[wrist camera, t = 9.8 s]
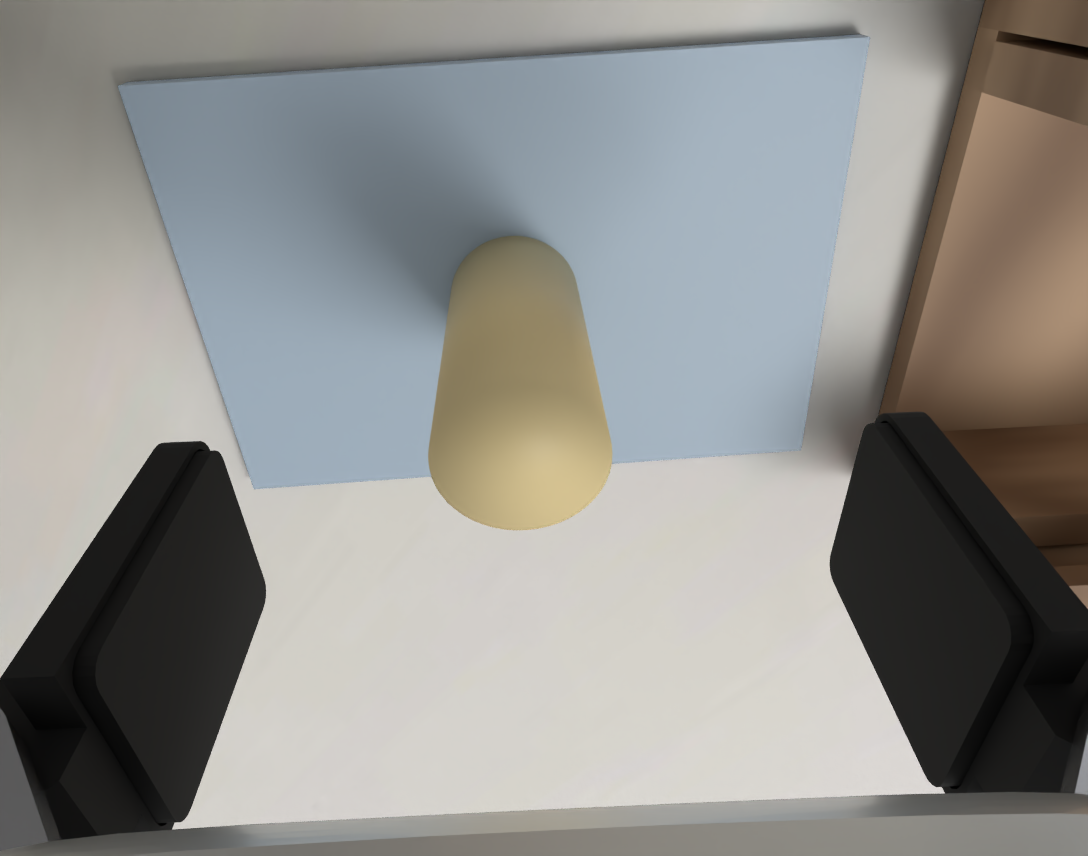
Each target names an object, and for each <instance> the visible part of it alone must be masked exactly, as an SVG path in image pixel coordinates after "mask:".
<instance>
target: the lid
mask: <svg viewBox="0 0 1088 856" xmlns="http://www.w3.org/2000/svg"><path fill="white" fill-rule="evenodd" d="M869 41H870V37H868V36H864V35H861V34H858V35H842V36H827V37H812V38H796V39H781V40H766V41H750V42H735V43H720V44H704V45H689V46H674V47H658V48H643V49H628V50H612V51H597V52H582V53H566V54H551V55H536V56H520V57H505V58H490V59H474V60H459V61H444V62H428V63H413V64H398V65H382V66H367V67H352V68H336V69H321V70H306V71H290V72H275V73H260V74H244V75H229V76H214V77H198V78H183V79H168V80H152V81H137V82H127V83H124V84H122V85H119V86H118V89H119V92H120V95H121V98H122V101H123V103H124V106H125V109H126V112H127V115H128V118H129V121H130V124H131V127H132V130H133V133H134V136H135V139H136V142H137V145H138V148H139V151H140V154H141V157H142V160H143V163H144V166H145V169H146V171H147V174H148V177H149V180H150V183H151V186H152V189H153V192H154V195H155V198H156V201H157V204H158V207H159V210H160V213H161V216H162V219H163V222H164V225H165V228H166V231H167V234H168V237H169V239H170V242H171V245H172V248H173V251H174V254H175V257H176V260H177V263H178V266H179V269H180V272H181V275H182V278H183V281H184V284H185V287H186V290H187V293H188V296H189V299H190V302H191V305H192V307H193V310H194V313H195V316H196V319H197V322H198V325H199V328H200V331H201V334H202V337H203V340H204V343H205V346H206V349H207V352H208V355H209V358H210V361H211V364H212V367H213V370H214V373H215V375H216V378H217V381H218V384H219V387H220V390H221V393H222V396H223V399H224V402H225V405H226V408H227V411H228V414H229V417H230V420H231V423H232V426H233V429H234V432H235V435H236V438H237V440H238V443H239V446H240V449H241V452H242V455H243V458H244V461H245V464H246V467H247V470H248V473H249V476H250V479H251V482H252V485H253V488H254V489H263V488H277V487H291V486H305V485H320V484H334V483H348V482H362V481H376V480H390V479H404V478H418V477H432V479H433V481H434V484H435V486H436V488H437V489H438V491H439V492H440V494H441V495H442V496H443V498H444V499H445V500H446V501H447V502H448V503H449V504H450V505H451V506H452V507H453V508H454V509H456V510H457V511H458V512H460V513H461V514H463V515H464V516H466V517H468V518H470V519H471V520H474V521H476V522H478V523H481V524H484V525H487V526H490V527H494V528H500V529H506V530H531V529H538V528H543V527H547V526H551V525H554V524H557V523H560V522H562V521H564V520H566V519H568V518H570V517H572V516H574V515H575V514H577V513H579V512H580V511H581V510H583V509H584V508H585V507H586V506H588V505H589V504H590V503H591V502H592V501H593V500H594V499H595V497H596V496H597V495H598V494H599V492H600V491H601V489H602V488H603V486H604V484H605V483H606V480H607V478H608V475H609V473H610V469H611V465H612V464H615V463H629V462H644V461H658V460H672V459H686V458H700V457H714V456H728V455H742V454H756V453H770V452H784V451H798V450H801V447H802V441H803V435H804V429H805V423H806V417H807V411H808V405H809V399H810V394H811V388H812V382H813V376H814V370H815V364H816V358H817V352H818V346H819V340H820V334H821V328H822V322H823V316H824V310H825V304H826V298H827V292H828V286H829V280H830V274H831V268H832V262H833V256H834V250H835V244H836V238H837V232H838V226H839V220H840V214H841V208H842V202H843V196H844V190H845V184H846V178H847V172H848V166H849V160H850V154H851V148H852V143H853V137H854V131H855V125H856V119H857V113H858V107H859V101H860V95H861V89H862V83H863V77H864V71H865V65H866V59H867V53H868V47H869Z"/></svg>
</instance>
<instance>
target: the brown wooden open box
mask: <svg viewBox="0 0 1088 856" xmlns="http://www.w3.org/2000/svg"><path fill="white" fill-rule="evenodd" d="M897 412H925V413H926V414H927V415H928V416H930V418H931V419H932V420H933V421H934V422H935V424H936V425H937V426H938V427H939V429H940V430H941V431H942V432H943V433H944V435H945V436H946V437H947V438H948V440H949V441H950V442H951V443H952V444H953V446H954V447H955V448H956V449H957V450H958V452H959V453H960V454H961V455H962V457H963V458H964V459H965V460H966V461H967V463H968V464H969V465H970V466H971V468H972V469H973V470H974V471H975V472H976V474H977V475H978V476H979V477H980V479H981V480H982V481H983V482H984V483H985V485H986V486H987V487H988V488H989V489H990V491H991V492H992V493H993V494H994V496H995V497H996V498H997V499H998V500H999V502H1000V503H1001V504H1002V505H1003V507H1004V508H1005V509H1006V510H1007V511H1008V513H1009V514H1010V515H1011V516H1012V517H1013V519H1014V520H1015V521H1016V522H1017V524H1018V525H1019V526H1020V527H1021V528H1022V530H1023V531H1024V532H1025V533H1026V535H1027V536H1028V537H1029V538H1030V539H1031V541H1032V542H1033V543H1034V544H1035V545H1036V547H1037V548H1038V549H1039V550H1040V552H1041V553H1042V554H1043V555H1044V556H1045V558H1046V559H1047V560H1048V561H1049V563H1050V564H1051V565H1052V566H1053V567H1054V569H1055V570H1056V571H1057V572H1058V573H1059V575H1060V576H1061V577H1062V578H1063V580H1064V581H1065V582H1066V583H1067V584H1068V586H1069V587H1070V588H1071V589H1072V591H1073V592H1074V593H1075V594H1076V595H1077V597H1078V598H1079V599H1080V600H1081V602H1082V603H1083V604H1084V605H1085V606H1086V608H1087V609H1088V0H985V2H984V6H983V10H982V14H981V18H980V22H979V26H978V30H977V34H976V38H975V41H974V45H973V49H972V53H971V57H970V61H969V65H968V69H967V73H966V77H965V80H964V84H963V88H962V92H961V96H960V100H959V104H958V108H957V112H956V115H955V119H954V123H953V127H952V131H951V135H950V139H949V143H948V147H947V151H946V154H945V158H944V162H943V166H942V170H941V174H940V178H939V182H938V186H937V189H936V193H935V197H934V201H933V205H932V209H931V213H930V217H929V221H928V225H927V228H926V232H925V236H924V240H923V244H922V248H921V252H920V256H919V260H918V264H917V267H916V271H915V275H914V279H913V283H912V287H911V291H910V295H909V299H908V302H907V306H906V310H905V314H904V318H903V322H902V326H901V330H900V334H899V338H898V341H897V345H896V349H895V353H894V357H893V361H892V365H891V369H890V373H889V376H888V380H887V384H886V388H885V392H884V396H883V400H882V404H881V408H880V412H879V415H881V414H883V413H897ZM879 415H878V416H879Z"/></svg>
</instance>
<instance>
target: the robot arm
mask: <svg viewBox="0 0 1088 856" xmlns="http://www.w3.org/2000/svg"><path fill="white" fill-rule="evenodd" d="M830 572H831V576H832V579H833V582H834V584H835V586H836V588H837V591H838V593H839V595H840V597H841V599H842V601H843V603H844V605H845V607H846V610H847V612H848V614H849V616H850V618H851V620H852V622H853V624H854V626H855V628H856V631H857V633H858V635H859V637H860V639H861V641H862V643H863V645H864V647H865V650H866V652H867V654H868V656H869V658H870V660H871V662H872V664H873V666H874V668H875V671H876V673H877V675H878V677H879V679H880V681H881V683H882V685H883V687H884V690H885V692H886V694H887V696H888V698H889V700H890V702H891V704H892V706H893V708H894V711H895V713H896V715H897V717H898V719H899V721H900V723H901V725H902V727H903V730H904V732H905V734H906V736H907V738H908V740H909V742H910V744H911V746H912V749H913V751H914V753H915V755H916V757H917V759H918V761H919V763H920V765H921V767H922V770H923V772H924V774H925V775H926V777H927V779H928V780H929V782H930V783H931V784H932V785H934V786H935V787H942V788H943V790H944V792H945V794H907V795H873V796H849V797H825V798H801V799H776V800H752V801H728V802H703V803H680V804H658V805H636V806H614V807H592V808H570V809H549V810H528V811H507V812H486V813H464V814H443V815H424V816H405V817H385V818H366V819H347V820H327V821H308V822H289V823H269V824H250V825H235V826H220V827H206V828H191V829H176V830H172V828H173V825H174V822H182V821H183V820H184V819H185V818H186V817H187V815H188V813H189V811H190V809H191V807H192V804H193V801H194V798H195V796H196V793H197V790H198V787H199V784H200V782H201V779H202V776H203V773H204V771H205V768H206V765H207V762H208V760H209V757H210V754H211V751H212V748H213V746H214V743H215V740H216V737H217V735H218V732H219V729H220V726H221V724H222V721H223V718H224V715H225V713H226V710H227V707H228V704H229V701H230V699H231V696H232V693H233V690H234V688H235V685H236V682H237V679H238V677H239V674H240V671H241V668H242V666H243V663H244V660H245V657H246V654H247V652H248V649H249V646H250V643H251V641H252V638H253V635H254V632H255V630H256V627H257V624H258V621H259V619H260V616H261V613H262V610H263V607H264V604H265V598H266V585H265V581H264V577H263V574H262V571H261V569H260V566H259V563H258V560H257V557H256V554H255V551H254V548H253V545H252V542H251V539H250V536H249V533H248V530H247V527H246V525H245V522H244V519H243V516H242V513H241V510H240V507H239V504H238V501H237V498H236V495H235V492H234V489H233V486H232V483H231V481H230V478H229V475H228V472H227V469H226V466H225V463H224V460H223V458H222V456H221V454H220V453H219V452H218V451H210V449H209V447H208V446H207V445H206V444H205V443H204V442H201V441H194V442H170V443H161V444H158V446H157V447H156V448H155V449H154V450H153V452H152V453H151V455H150V456H149V458H148V459H147V461H146V462H145V464H144V465H143V467H142V468H141V470H140V471H139V472H138V474H137V475H136V477H135V478H134V480H133V481H132V483H131V484H130V486H129V487H128V489H127V490H126V492H125V493H124V495H123V496H122V498H121V499H120V501H119V502H118V504H117V505H116V507H115V508H114V510H113V511H112V513H111V514H110V516H109V517H108V519H107V520H106V522H105V523H104V525H103V526H102V528H101V529H100V531H99V532H98V534H97V535H96V537H95V538H94V539H93V541H92V542H91V544H90V545H89V547H88V548H87V550H86V551H85V553H84V554H83V556H82V557H81V559H80V560H79V562H78V563H77V565H76V566H75V568H74V569H73V571H72V572H71V574H70V575H69V577H68V578H67V580H66V581H65V583H64V584H63V586H62V587H61V589H60V590H59V592H58V593H57V595H56V596H55V598H54V599H53V601H52V602H51V604H50V605H49V607H48V608H47V609H46V611H45V612H44V614H43V615H42V617H41V618H40V620H39V621H38V623H37V624H36V626H35V627H34V629H33V630H32V632H31V633H30V635H29V636H28V638H27V639H26V641H25V642H24V644H23V645H22V647H21V648H20V650H19V651H18V653H17V654H16V656H15V657H14V659H13V660H12V662H11V663H10V665H9V666H8V668H7V669H6V671H5V672H4V674H3V675H2V676H1V678H0V856H1088V609H1087V608H1086V606H1085V605H1084V604H1083V603H1082V602H1081V600H1080V599H1079V598H1078V597H1077V595H1076V594H1075V593H1074V592H1073V591H1072V589H1071V588H1070V587H1069V586H1068V584H1067V583H1066V582H1065V581H1064V580H1063V578H1062V577H1061V576H1060V575H1059V573H1058V572H1057V571H1056V570H1055V569H1054V567H1053V566H1052V565H1051V564H1050V563H1049V561H1048V560H1047V559H1046V558H1045V556H1044V555H1043V554H1042V553H1041V552H1040V550H1039V549H1038V548H1037V547H1036V545H1035V544H1034V543H1033V542H1032V541H1031V539H1030V538H1029V537H1028V536H1027V535H1026V533H1025V532H1024V531H1023V530H1022V528H1021V527H1020V526H1019V525H1018V524H1017V522H1016V521H1015V520H1014V519H1013V517H1012V516H1011V515H1010V514H1009V513H1008V511H1007V510H1006V509H1005V508H1004V507H1003V505H1002V504H1001V503H1000V502H999V500H998V499H997V498H996V497H995V496H994V494H993V493H992V492H991V491H990V489H989V488H988V487H987V486H986V485H985V483H984V482H983V481H982V480H981V479H980V477H979V476H978V475H977V474H976V472H975V471H974V470H973V469H972V468H971V466H970V465H969V464H968V463H967V461H966V460H965V459H964V458H963V457H962V455H961V454H960V453H959V452H958V450H957V449H956V448H955V447H954V446H953V444H952V443H951V442H950V441H949V440H948V438H947V437H946V436H945V435H944V433H943V432H942V431H941V430H940V429H939V427H938V426H937V425H936V424H935V422H934V421H933V420H932V419H931V418H930V416H928V415H927V414H926V413H925V412H897V413H883V414H881V415H879V416H878V418H877V419H876V421H875V423H870V424H868V425H866V427H865V428H864V431H863V433H862V437H861V441H860V445H859V449H858V453H857V456H856V460H855V464H854V468H853V472H852V475H851V479H850V483H849V487H848V491H847V495H846V498H845V502H844V506H843V510H842V514H841V517H840V521H839V525H838V529H837V533H836V537H835V540H834V544H833V548H832V552H831V556H830Z"/></svg>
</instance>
